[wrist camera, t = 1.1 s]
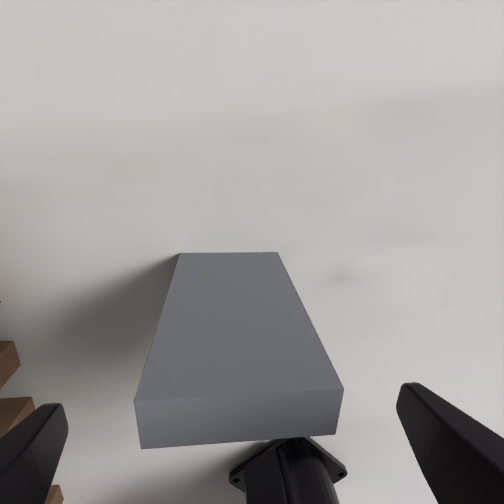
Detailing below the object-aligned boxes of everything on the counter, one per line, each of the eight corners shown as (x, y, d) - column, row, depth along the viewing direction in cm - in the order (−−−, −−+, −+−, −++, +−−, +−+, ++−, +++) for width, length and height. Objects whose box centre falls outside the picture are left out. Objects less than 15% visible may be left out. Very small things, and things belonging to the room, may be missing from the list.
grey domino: (275, 279, 16) (334, 434, 8) (181, 281, 16) (140, 449, 7) (277, 252, 16) (344, 388, 7) (179, 252, 15) (133, 401, 7)
